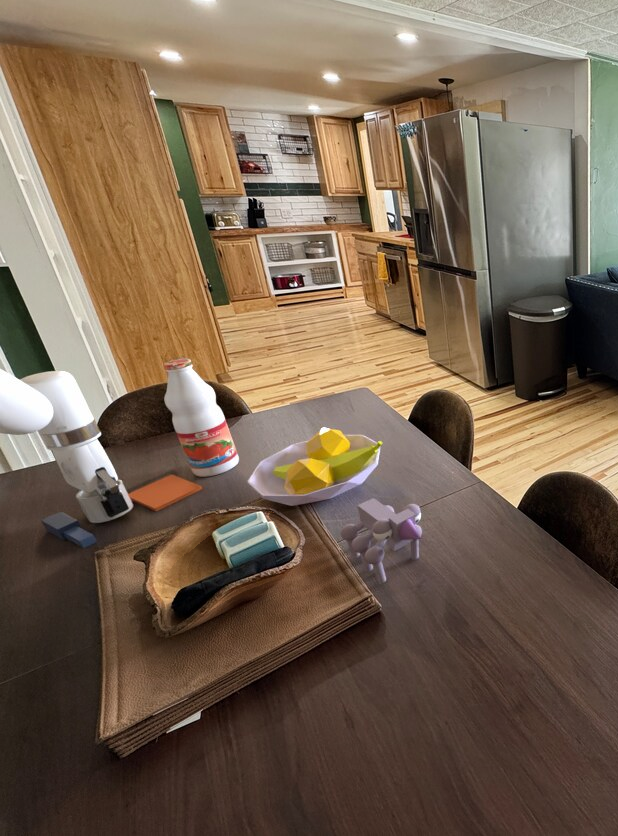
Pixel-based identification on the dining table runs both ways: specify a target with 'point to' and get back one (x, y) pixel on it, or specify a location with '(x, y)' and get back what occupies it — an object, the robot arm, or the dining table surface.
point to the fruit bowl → (316, 468)
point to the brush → (68, 529)
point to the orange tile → (164, 492)
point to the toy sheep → (382, 533)
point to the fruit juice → (198, 421)
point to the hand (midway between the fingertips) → (109, 507)
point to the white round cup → (94, 506)
